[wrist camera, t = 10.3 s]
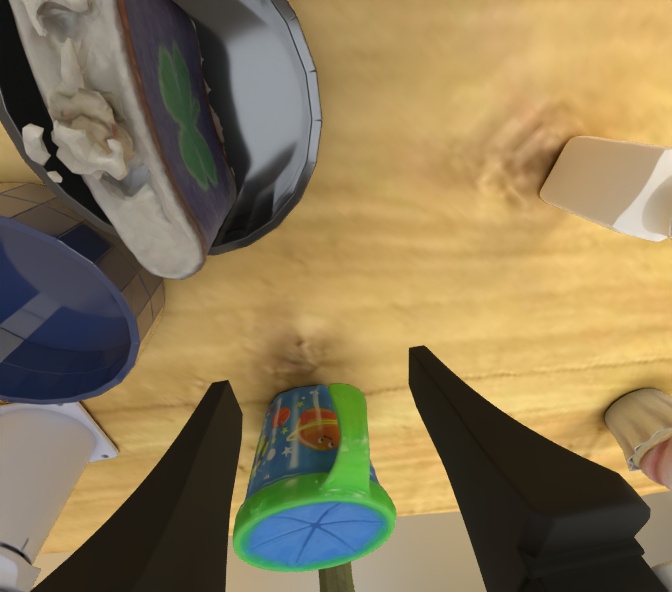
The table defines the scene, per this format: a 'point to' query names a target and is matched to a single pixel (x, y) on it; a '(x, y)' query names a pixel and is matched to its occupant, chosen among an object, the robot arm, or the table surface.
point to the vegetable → (336, 578)
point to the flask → (132, 121)
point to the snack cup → (313, 485)
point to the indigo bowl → (67, 301)
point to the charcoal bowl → (225, 99)
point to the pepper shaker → (615, 185)
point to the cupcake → (644, 432)
